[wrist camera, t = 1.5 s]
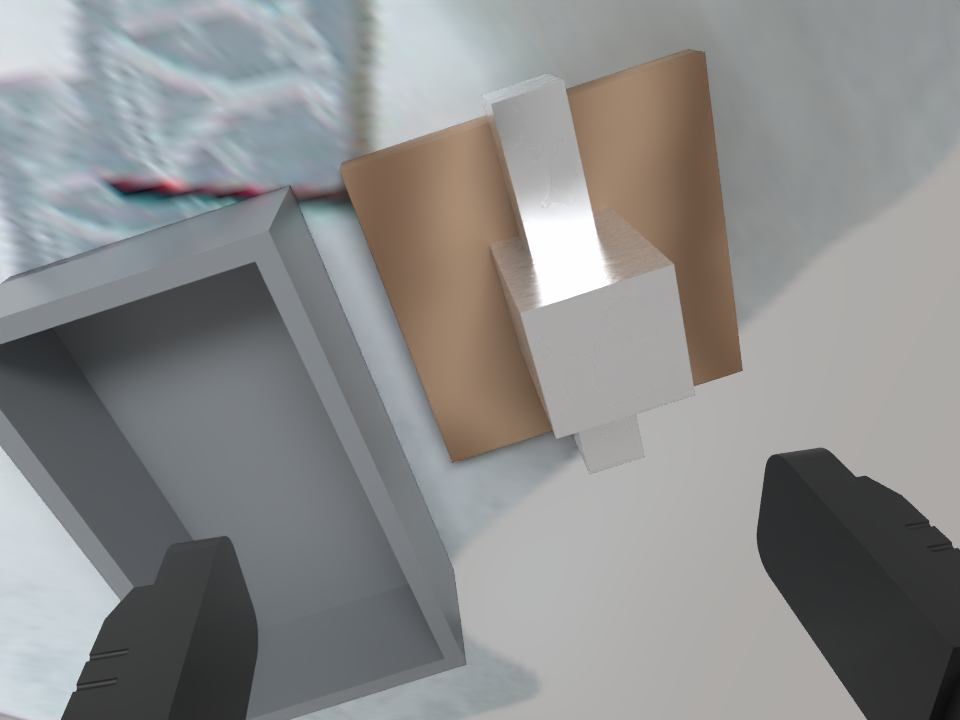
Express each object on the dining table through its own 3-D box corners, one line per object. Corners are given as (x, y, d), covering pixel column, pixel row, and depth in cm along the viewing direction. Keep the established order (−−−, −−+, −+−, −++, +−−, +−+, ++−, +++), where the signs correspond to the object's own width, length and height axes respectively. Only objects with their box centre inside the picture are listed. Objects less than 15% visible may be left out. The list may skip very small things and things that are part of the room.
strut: (448, 105, 25) (470, 138, 19) (581, 62, 25) (644, 82, 19) (550, 450, 33) (588, 551, 27) (652, 417, 33) (713, 512, 27)
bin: (9, 277, 27) (-79, 343, 22) (290, 185, 27) (268, 230, 22) (249, 634, 38) (228, 738, 32) (453, 570, 37) (466, 664, 32)
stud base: (688, 49, 27) (769, 62, 21) (728, 356, 33) (798, 427, 28) (341, 162, 27) (332, 205, 21) (449, 444, 34) (463, 532, 28)
